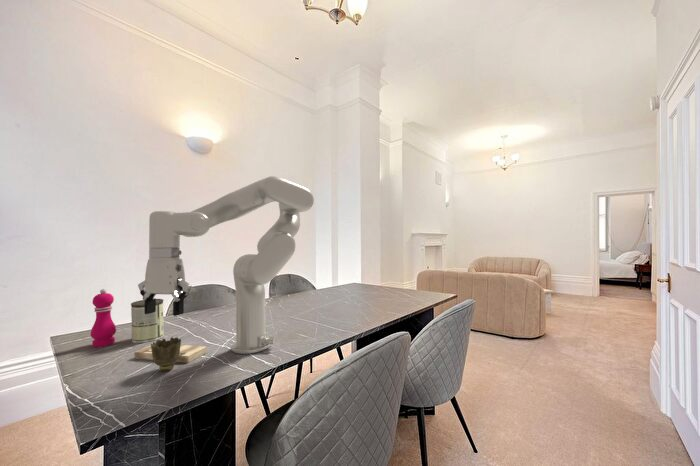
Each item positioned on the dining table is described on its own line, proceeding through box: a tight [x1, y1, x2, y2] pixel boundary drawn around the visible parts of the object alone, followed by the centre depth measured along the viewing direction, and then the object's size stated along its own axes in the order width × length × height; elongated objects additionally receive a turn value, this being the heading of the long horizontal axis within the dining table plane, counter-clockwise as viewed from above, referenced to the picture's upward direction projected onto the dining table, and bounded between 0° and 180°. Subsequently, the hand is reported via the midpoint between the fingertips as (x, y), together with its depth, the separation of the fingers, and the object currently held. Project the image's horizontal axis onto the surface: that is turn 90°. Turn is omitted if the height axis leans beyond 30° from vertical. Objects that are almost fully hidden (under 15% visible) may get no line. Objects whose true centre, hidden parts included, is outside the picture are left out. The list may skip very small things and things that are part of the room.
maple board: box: [134, 344, 208, 364], centre depth 97 cm, size 20×8×2 cm, turn 77°
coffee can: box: [130, 298, 165, 344], centre depth 115 cm, size 10×10×14 cm
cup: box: [150, 337, 182, 372], centre depth 86 cm, size 8×7×8 cm
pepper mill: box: [90, 288, 117, 348], centre depth 109 cm, size 7×7×20 cm
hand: (164, 313), depth 86 cm, fingers open, 9 cm apart
